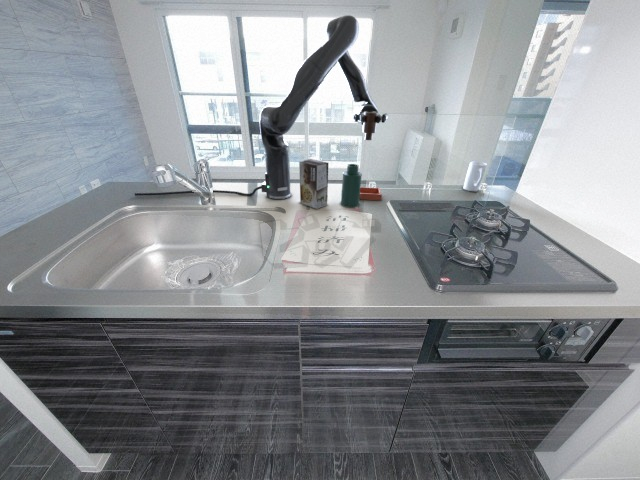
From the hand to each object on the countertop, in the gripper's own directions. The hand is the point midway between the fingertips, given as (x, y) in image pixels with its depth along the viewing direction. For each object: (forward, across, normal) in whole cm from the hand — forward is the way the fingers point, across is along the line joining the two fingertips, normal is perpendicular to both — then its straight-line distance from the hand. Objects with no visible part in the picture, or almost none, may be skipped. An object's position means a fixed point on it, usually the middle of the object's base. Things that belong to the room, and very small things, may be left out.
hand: (371, 119), depth 92 cm
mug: (-21, +51, +30) cm, 63 cm away
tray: (-6, +3, +30) cm, 31 cm away
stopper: (-3, 0, +7) cm, 7 cm away
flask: (+4, -5, +30) cm, 31 cm away
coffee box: (+6, -19, +30) cm, 36 cm away
